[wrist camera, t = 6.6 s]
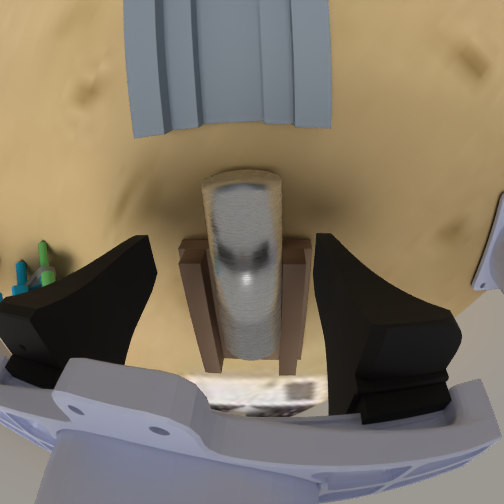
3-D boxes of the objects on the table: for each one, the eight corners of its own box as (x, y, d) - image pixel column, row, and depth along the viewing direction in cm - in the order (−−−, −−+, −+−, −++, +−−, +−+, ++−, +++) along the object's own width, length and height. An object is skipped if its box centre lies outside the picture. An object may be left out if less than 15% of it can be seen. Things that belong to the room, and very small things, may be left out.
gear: (53, 346, 24) (-32, 345, 15) (42, 294, 26) (-37, 282, 17) (112, 301, 21) (-3, 288, 12) (96, 238, 23) (-3, 208, 14)
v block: (312, -25, 9) (323, -51, 6) (318, 118, 13) (331, 128, 10) (153, -11, 10) (123, -28, 7) (162, 125, 14) (134, 138, 11)
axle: (201, 173, 14) (200, 200, 11) (272, 167, 14) (291, 191, 11) (222, 322, 19) (226, 363, 16) (274, 315, 20) (286, 355, 17)
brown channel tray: (310, 239, 17) (314, 264, 15) (300, 349, 23) (301, 375, 20) (182, 240, 18) (170, 263, 16) (205, 347, 23) (199, 371, 21)
